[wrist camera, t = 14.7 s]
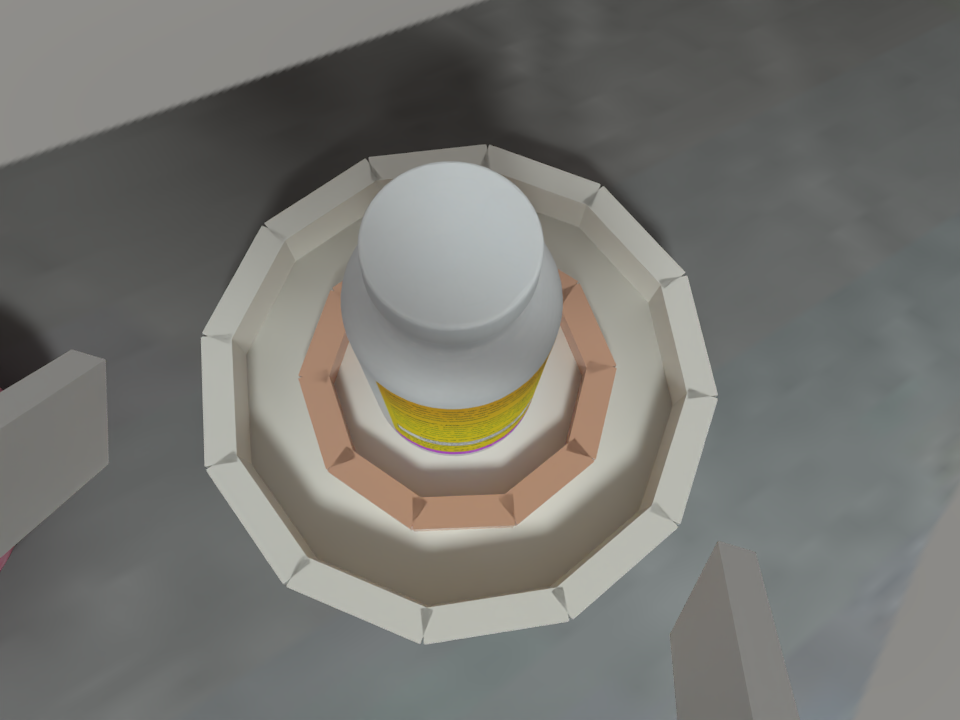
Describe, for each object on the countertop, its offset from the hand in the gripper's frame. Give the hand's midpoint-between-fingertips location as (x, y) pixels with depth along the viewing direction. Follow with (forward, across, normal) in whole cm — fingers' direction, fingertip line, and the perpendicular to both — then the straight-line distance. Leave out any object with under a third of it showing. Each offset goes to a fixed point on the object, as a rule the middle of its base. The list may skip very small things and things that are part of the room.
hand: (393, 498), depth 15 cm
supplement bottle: (+14, -1, -5) cm, 15 cm away
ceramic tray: (+15, 0, -6) cm, 16 cm away
